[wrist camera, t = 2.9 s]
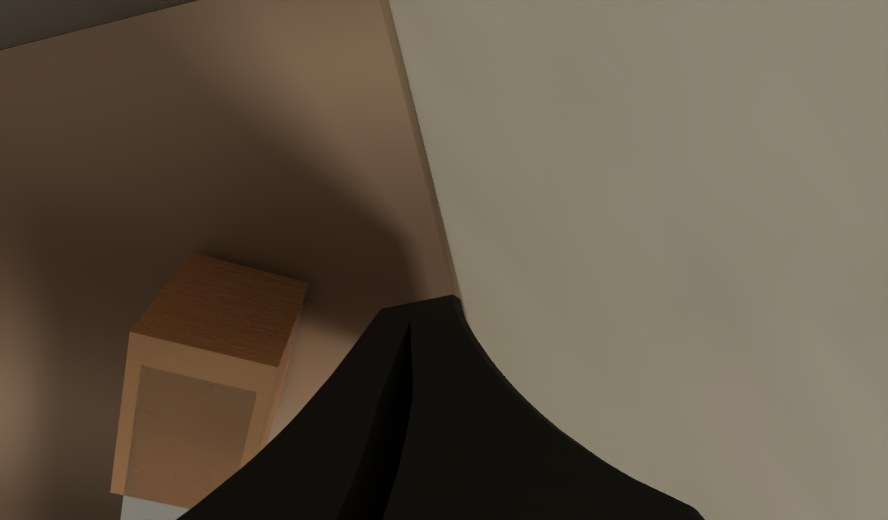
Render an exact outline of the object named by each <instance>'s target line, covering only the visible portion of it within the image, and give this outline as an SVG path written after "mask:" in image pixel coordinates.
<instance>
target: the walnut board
mask: <svg viewBox="0 0 888 520" xmlns="http://www.w3.org/2000/svg"><path fill="white" fill-rule="evenodd" d="M192 252H193V253H197V254H201V255H205V256H209V257H212V258H216V259H220V260H224V261H228V262H232V263H235V264H239V265H243V266H247V267H251V268H255V269H258V270H262V271H266V272H270V273H274V274H277V275H281V276H285V277H289V278H293V279H297V280H300V281H304V282H308V283H309V286H308V290H307V294H306V298H305V302H304V306H303V310H302V314H301V318H300V322H299V326H298V330H297V334H296V338H295V342H294V346H293V350H292V354H291V358H290V362H289V366H288V370H287V374H286V378H285V382H284V386H283V390H282V394H281V398H280V402H279V406H278V410H277V414H276V418H275V421H274V424H273V427H272V430H271V433H270V436H269V439H268V442H267V444H268V443H269V442H270V441H271V440H272V439H274V438H275V437H276V436H277V435H278V434H279V433H280V432H281V431H282V430H283V429H284V428H285V427H286V426H287V425H288V424H289V423H290V421H291V420H292V419H293V418H294V417H295V416H296V415H297V414H298V413H299V412H300V411H301V409H302V408H303V407H304V406H305V405H306V404H307V402H308V401H309V400H310V399H311V398H312V397H313V396H314V394H315V393H316V392H317V391H318V390H319V389H320V387H321V386H322V385H323V384H324V383H325V382H326V380H327V379H328V378H329V377H330V376H331V375H332V373H333V372H334V371H335V369H336V368H337V367H338V366H339V364H340V363H341V362H342V360H343V359H344V358H345V356H346V355H347V354H348V352H349V351H350V350H351V349H352V347H353V346H354V345H355V343H356V342H357V340H358V339H359V338H360V336H361V335H362V334H363V332H364V331H365V329H366V328H367V327H368V325H369V324H370V323H371V321H372V320H373V319H374V317H375V316H376V315H377V313H378V312H379V311H380V310H381V309H383V308H388V307H393V306H398V305H402V304H407V303H412V302H417V301H422V300H427V299H432V298H437V297H442V296H447V295H452V294H453V295H455V296H456V297H458V298H460V299H461V302H462V306H463V310H464V314H465V318H466V321H467V317H466V313H465V309H464V305H463V301H462V297H461V293H460V289H459V285H458V281H457V276H456V272H455V268H454V264H453V260H452V256H451V252H450V248H449V244H448V240H447V236H446V232H445V228H444V224H443V220H442V216H441V212H440V208H439V204H438V199H437V195H436V191H435V187H434V183H433V179H432V175H431V171H430V167H429V163H428V159H427V155H426V151H425V147H424V143H423V139H422V135H421V131H420V126H419V122H418V118H417V114H416V110H415V106H414V102H413V98H412V94H411V90H410V86H409V82H408V78H407V74H406V70H405V66H404V62H403V58H402V54H401V49H400V45H399V41H398V37H397V33H396V29H395V25H394V21H393V17H392V13H391V9H390V5H389V1H388V0H197V1H193V2H189V3H185V4H181V5H177V6H173V7H169V8H166V9H162V10H158V11H154V12H150V13H146V14H142V15H138V16H134V17H130V18H126V19H122V20H118V21H114V22H110V23H106V24H102V25H98V26H94V27H90V28H86V29H82V30H78V31H75V32H71V33H67V34H63V35H59V36H55V37H51V38H47V39H43V40H39V41H35V42H31V43H27V44H23V45H19V46H15V47H11V48H7V49H3V50H0V520H120V519H121V511H122V504H123V496H124V495H120V494H115V493H110V490H111V482H112V474H113V466H114V457H115V449H116V441H117V433H118V425H119V416H120V408H121V400H122V392H123V384H124V375H125V367H126V359H127V351H128V343H129V334H130V331H131V330H132V328H133V327H134V326H135V324H136V323H137V322H138V321H139V319H140V318H141V317H142V315H143V314H144V313H145V312H146V310H147V309H148V308H149V307H150V305H151V304H152V303H153V301H154V300H155V299H156V298H157V296H158V295H159V294H160V292H161V291H162V290H163V289H164V287H165V286H166V285H167V283H168V282H169V281H170V280H171V278H172V277H173V276H174V275H175V273H176V272H177V271H178V269H179V268H180V267H181V266H182V264H183V263H184V262H185V260H186V259H187V258H188V257H189V255H190V254H191V253H192ZM467 323H468V321H467Z"/></svg>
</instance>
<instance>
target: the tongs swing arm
mask: <svg viewBox="0 0 888 520" xmlns="http://www.w3.org/2000/svg"><path fill="white" fill-rule="evenodd" d="M308 286H309V283H308V282H304V281H300V280H297V279H293V278H289V277H285V276H281V275H277V274H274V273H270V272H266V271H262V270H258V269H255V268H251V267H247V266H243V265H239V264H235V263H232V262H228V261H224V260H220V259H216V258H212V257H209V256H205V255H201V254H197V253H193V252H192V253H191V254H190V255H189V257H188V258H187V259H186V260H185V262H184V263H183V264H182V266H181V267H180V268H179V269H178V271H177V272H176V273H175V275H174V276H173V277H172V278H171V280H170V281H169V282H168V283H167V285H166V286H165V287H164V289H163V290H162V291H161V292H160V294H159V295H158V296H157V298H156V299H155V300H154V301H153V303H152V304H151V305H150V307H149V308H148V309H147V310H146V312H145V313H144V314H143V315H142V317H141V318H140V319H139V321H138V322H137V323H136V324H135V326H134V327H133V328H132V330H131V331H130V334H129V343H128V351H127V359H126V367H125V375H124V384H123V392H122V400H121V408H120V416H119V425H118V433H117V441H116V449H115V457H114V466H113V474H112V482H111V490H110V493H115V494H120V495H124V496H123V504H122V511H121V519H120V520H176V519H177V518H179V517H180V516H182V515H183V514H184V513H186V512H187V511H188V510H190V509H191V508H192V507H194V506H195V505H196V504H198V503H199V502H200V501H201V500H202V499H204V498H205V497H206V496H207V495H209V494H210V493H211V492H212V491H214V490H215V489H216V488H217V487H219V486H220V485H221V484H222V483H223V482H225V481H226V480H227V479H228V478H230V477H231V476H232V475H233V474H235V473H236V472H237V471H238V470H240V469H241V468H242V467H243V466H244V465H245V464H247V463H248V462H249V461H250V460H251V459H252V458H253V457H254V456H255V455H257V454H258V453H259V452H260V451H261V450H262V449H263V448H264V447H265V446H266V445H267V442H268V439H269V436H270V433H271V430H272V427H273V424H274V421H275V418H276V414H277V410H278V406H279V402H280V398H281V394H282V390H283V386H284V382H285V378H286V374H287V370H288V366H289V362H290V358H291V354H292V350H293V346H294V342H295V338H296V334H297V330H298V326H299V322H300V318H301V314H302V310H303V306H304V302H305V298H306V294H307V290H308Z"/></svg>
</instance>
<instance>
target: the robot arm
mask: <svg viewBox="0 0 888 520" xmlns="http://www.w3.org/2000/svg"><path fill="white" fill-rule="evenodd" d="M176 520H705V519H704V518H703V517H702V516H701V515H700V513H699V512H698V511H697V510H696V509H695V508H693V507H691V506H690V505H688V504H685V503H683V502H681V501H679V500H677V499H675V498H673V497H671V496H669V495H667V494H665V493H662V492H660V491H658V490H656V489H654V488H652V487H650V486H648V485H646V484H644V483H642V482H639V481H637V480H635V479H633V478H631V477H630V476H628V475H626V474H625V473H623V472H621V471H620V470H618V469H616V468H615V467H613V466H611V465H610V464H608V463H606V462H605V461H603V460H602V459H600V458H599V457H597V456H596V455H595V454H593V453H592V452H590V451H589V450H588V449H586V448H585V447H583V446H582V445H580V444H579V443H578V442H576V441H575V440H573V439H572V438H571V437H569V436H568V435H566V434H565V433H564V432H562V431H561V430H560V429H558V428H557V427H556V426H555V425H554V424H553V423H551V422H550V421H549V420H548V419H547V418H546V417H544V416H543V415H542V414H541V413H540V412H539V411H538V410H537V409H535V408H534V407H533V406H532V405H531V404H530V403H529V402H528V401H527V400H526V399H525V398H524V397H523V396H522V395H521V394H520V393H519V392H518V391H517V390H516V389H515V388H514V387H513V386H512V384H511V383H510V382H509V381H508V380H507V379H506V378H505V376H504V375H503V374H502V373H501V372H500V370H499V369H498V368H497V367H496V366H495V364H494V363H493V362H492V360H491V359H490V358H489V356H488V355H487V353H486V352H485V351H484V349H483V348H482V346H481V345H480V343H479V342H478V340H477V339H476V337H475V336H474V334H473V332H472V331H471V329H470V327H469V325H468V323H467V321H466V318H465V314H464V310H463V306H462V302H461V299H460V298H458V297H456V296H455V295H453V294H452V295H447V296H442V297H437V298H432V299H427V300H422V301H417V302H412V303H407V304H402V305H398V306H393V307H388V308H383V309H381V310H380V311H379V312H378V313H377V315H376V316H375V317H374V319H373V320H372V321H371V323H370V324H369V325H368V327H367V328H366V329H365V331H364V332H363V334H362V335H361V336H360V338H359V339H358V340H357V342H356V343H355V345H354V346H353V347H352V349H351V350H350V351H349V352H348V354H347V355H346V356H345V358H344V359H343V360H342V362H341V363H340V364H339V366H338V367H337V368H336V369H335V371H334V372H333V373H332V375H331V376H330V377H329V378H328V379H327V380H326V382H325V383H324V384H323V385H322V386H321V387H320V389H319V390H318V391H317V392H316V393H315V394H314V396H313V397H312V398H311V399H310V400H309V401H308V402H307V404H306V405H305V406H304V407H303V408H302V409H301V411H300V412H299V413H298V414H297V415H296V416H295V417H294V418H293V419H292V420H291V421H290V423H289V424H288V425H287V426H286V427H285V428H284V429H283V430H282V431H281V432H280V433H279V434H278V435H277V436H276V437H275V438H274V439H272V440H271V441H270V442H269V443H268V444H267V445H266V446H265V447H264V448H263V449H262V450H261V451H260V452H259V453H258V454H257V455H255V456H254V457H253V458H252V459H251V460H250V461H249V462H248V463H247V464H245V465H244V466H243V467H242V468H241V469H240V470H238V471H237V472H236V473H235V474H233V475H232V476H231V477H230V478H228V479H227V480H226V481H225V482H223V483H222V484H221V485H220V486H219V487H217V488H216V489H215V490H214V491H212V492H211V493H210V494H209V495H207V496H206V497H205V498H204V499H202V500H201V501H200V502H199V503H198V504H196V505H195V506H194V507H192V508H191V509H190V510H188V511H187V512H186V513H184V514H183V515H182V516H180V517H179V518H177V519H176Z"/></svg>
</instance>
